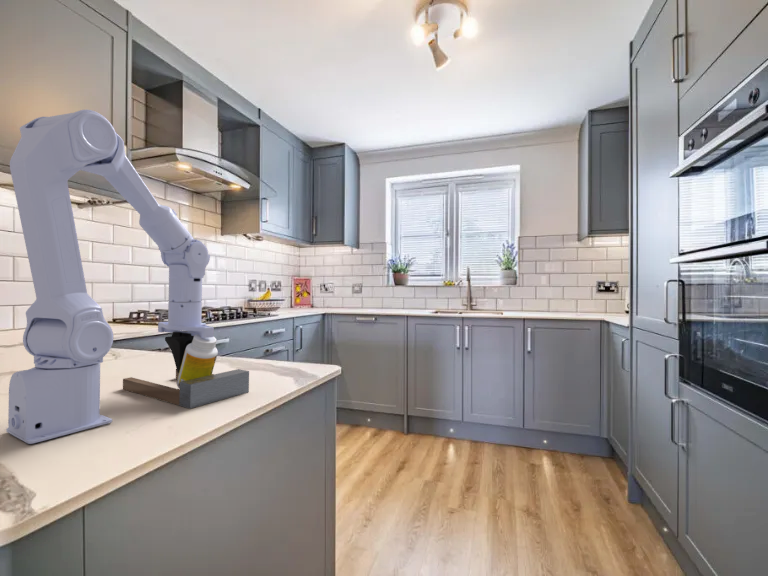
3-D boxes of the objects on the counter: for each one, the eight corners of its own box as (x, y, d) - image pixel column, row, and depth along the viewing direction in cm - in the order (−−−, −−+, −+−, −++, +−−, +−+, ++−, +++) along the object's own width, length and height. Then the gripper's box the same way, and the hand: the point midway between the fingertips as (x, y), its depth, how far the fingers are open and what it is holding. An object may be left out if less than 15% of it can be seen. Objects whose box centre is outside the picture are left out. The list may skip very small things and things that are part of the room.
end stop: (190, 408, 63) (190, 384, 63) (179, 405, 65) (179, 381, 65) (248, 391, 74) (249, 371, 74) (238, 389, 75) (238, 369, 75)
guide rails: (179, 405, 65) (179, 393, 65) (122, 389, 74) (122, 378, 74) (238, 389, 75) (238, 379, 75) (182, 376, 84) (182, 367, 84)
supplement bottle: (211, 394, 73) (224, 345, 71) (178, 395, 69) (192, 344, 67) (204, 378, 77) (217, 332, 75) (173, 379, 73) (186, 330, 71)
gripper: (228, 302, 74) (226, 373, 74) (182, 299, 81) (181, 364, 81) (194, 303, 68) (192, 380, 68) (147, 300, 75) (146, 370, 75)
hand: (184, 372), depth 74 cm, fingers closed
